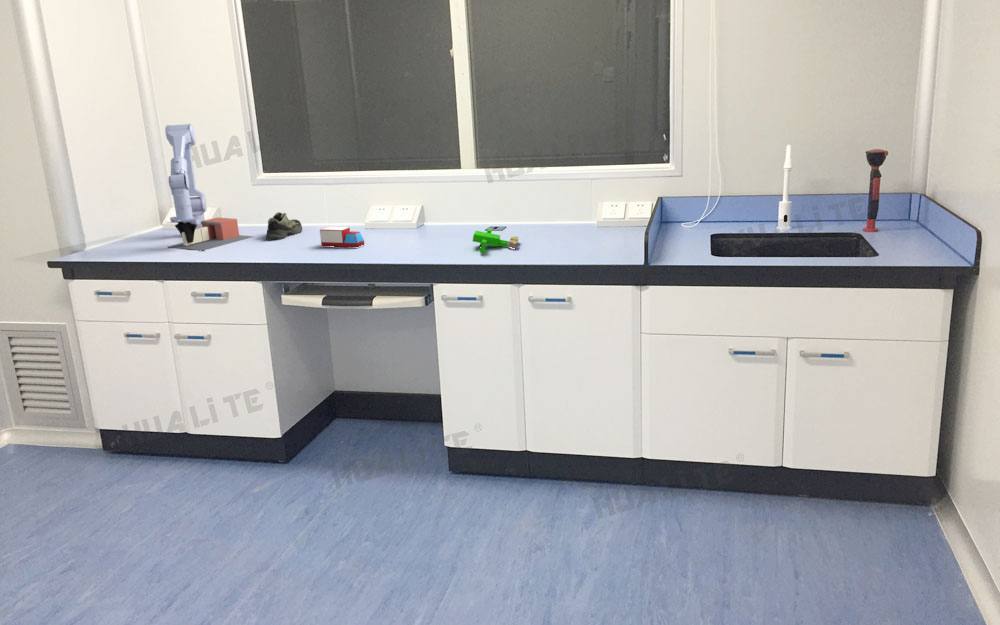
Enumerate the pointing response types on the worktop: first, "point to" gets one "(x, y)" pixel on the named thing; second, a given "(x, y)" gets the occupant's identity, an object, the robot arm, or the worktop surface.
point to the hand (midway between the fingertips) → (188, 242)
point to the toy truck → (340, 237)
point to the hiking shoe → (282, 227)
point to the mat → (209, 243)
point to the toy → (492, 240)
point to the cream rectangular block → (197, 236)
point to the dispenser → (221, 228)
